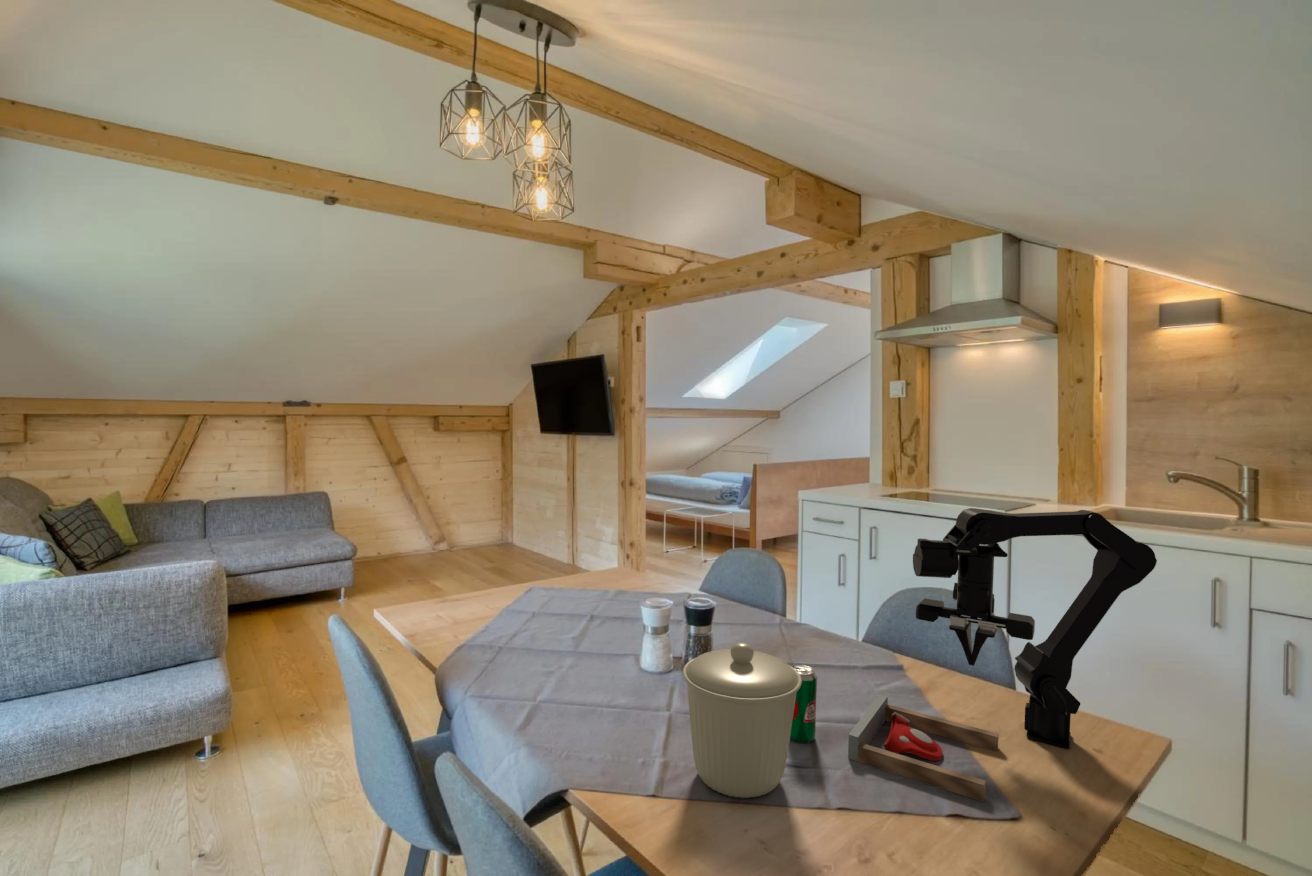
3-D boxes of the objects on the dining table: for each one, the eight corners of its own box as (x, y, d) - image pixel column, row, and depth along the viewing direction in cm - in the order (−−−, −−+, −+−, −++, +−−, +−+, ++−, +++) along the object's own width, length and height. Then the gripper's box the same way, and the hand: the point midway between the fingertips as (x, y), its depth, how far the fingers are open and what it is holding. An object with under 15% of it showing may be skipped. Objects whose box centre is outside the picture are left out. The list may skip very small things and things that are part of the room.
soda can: (809, 747, 107) (811, 677, 107) (781, 738, 110) (783, 670, 109) (819, 735, 111) (821, 667, 111) (791, 727, 114) (793, 661, 114)
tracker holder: (957, 750, 105) (919, 750, 101) (946, 773, 106) (908, 774, 101) (901, 704, 116) (865, 702, 111) (892, 726, 116) (855, 724, 112)
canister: (663, 797, 92) (667, 654, 91) (698, 739, 109) (701, 618, 108) (789, 827, 86) (793, 674, 85) (805, 761, 103) (809, 633, 102)
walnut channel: (998, 747, 108) (998, 733, 108) (983, 801, 93) (984, 785, 93) (887, 717, 119) (887, 704, 119) (857, 761, 103) (857, 746, 103)
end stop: (887, 717, 119) (887, 696, 119) (857, 761, 103) (858, 737, 103) (878, 714, 120) (879, 694, 119) (848, 758, 104) (848, 734, 104)
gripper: (1038, 578, 115) (1034, 663, 116) (928, 563, 126) (926, 641, 126) (1034, 591, 106) (1030, 683, 106) (916, 574, 116) (913, 657, 117)
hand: (971, 664), depth 114 cm, fingers closed
